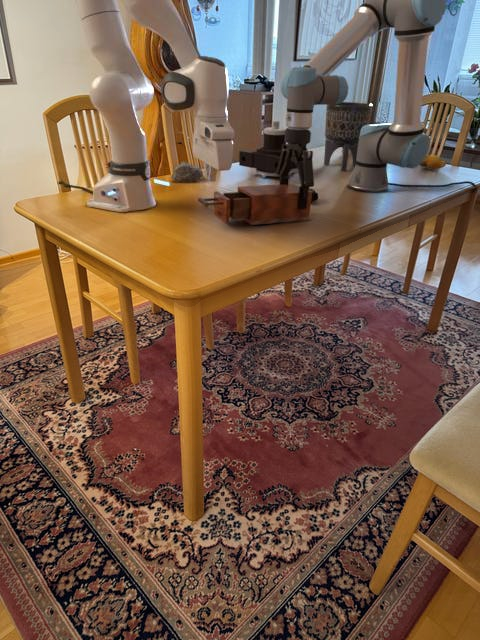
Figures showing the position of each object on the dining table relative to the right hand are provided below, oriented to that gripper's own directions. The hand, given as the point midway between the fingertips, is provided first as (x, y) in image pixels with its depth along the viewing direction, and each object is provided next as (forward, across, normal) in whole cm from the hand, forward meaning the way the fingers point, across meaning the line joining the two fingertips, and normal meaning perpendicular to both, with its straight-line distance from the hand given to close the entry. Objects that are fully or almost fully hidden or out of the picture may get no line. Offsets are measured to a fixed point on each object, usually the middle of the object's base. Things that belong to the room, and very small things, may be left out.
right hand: (292, 203), depth 142 cm
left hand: (-9, 0, -27) cm, 29 cm away
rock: (+4, -56, -14) cm, 58 cm away
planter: (+4, -56, +61) cm, 83 cm away
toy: (+3, -40, +99) cm, 107 cm away
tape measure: (+4, -12, +14) cm, 19 cm away
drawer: (+2, 0, -18) cm, 18 cm away
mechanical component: (+4, -54, +27) cm, 61 cm away
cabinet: (+4, 0, -7) cm, 8 cm away
